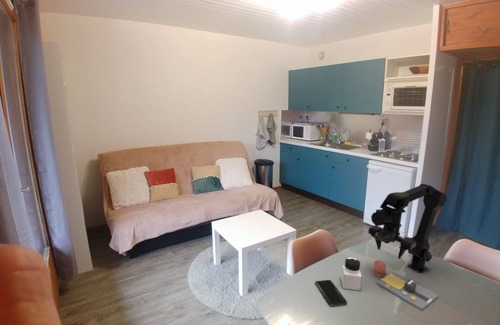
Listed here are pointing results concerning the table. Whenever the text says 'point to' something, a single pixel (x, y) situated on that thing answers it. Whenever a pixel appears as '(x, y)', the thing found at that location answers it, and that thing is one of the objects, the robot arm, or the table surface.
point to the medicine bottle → (351, 274)
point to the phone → (330, 293)
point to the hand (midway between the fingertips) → (388, 253)
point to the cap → (379, 268)
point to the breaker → (410, 286)
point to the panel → (416, 298)
